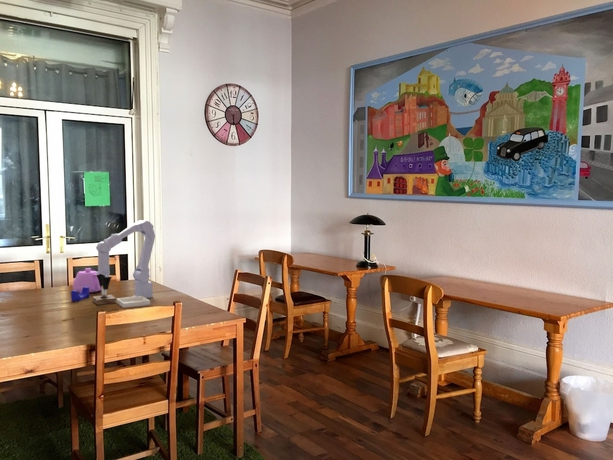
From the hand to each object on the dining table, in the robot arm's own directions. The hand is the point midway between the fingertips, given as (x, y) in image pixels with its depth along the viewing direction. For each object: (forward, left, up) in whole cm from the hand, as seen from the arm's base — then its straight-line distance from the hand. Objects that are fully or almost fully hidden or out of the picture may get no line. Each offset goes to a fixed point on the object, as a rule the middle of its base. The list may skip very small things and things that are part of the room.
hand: (104, 288), depth 294 cm
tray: (-12, +13, -8) cm, 19 cm away
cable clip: (+10, -14, -8) cm, 19 cm away
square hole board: (0, 0, -8) cm, 8 cm away
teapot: (-1, -35, -8) cm, 36 cm away
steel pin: (0, 0, -8) cm, 8 cm away
